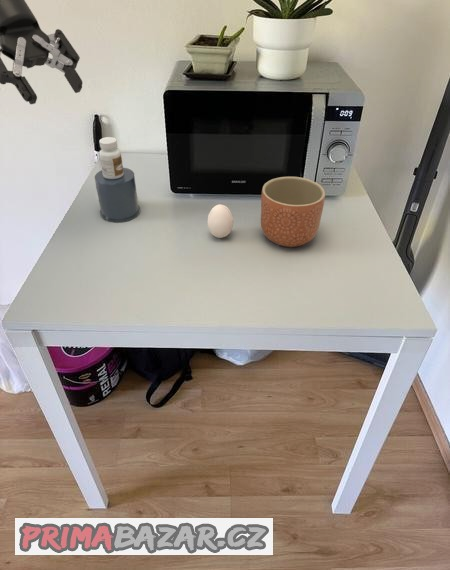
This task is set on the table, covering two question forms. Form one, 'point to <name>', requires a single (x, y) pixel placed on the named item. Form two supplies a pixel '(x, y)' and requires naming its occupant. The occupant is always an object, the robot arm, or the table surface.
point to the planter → (291, 210)
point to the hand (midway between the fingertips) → (57, 95)
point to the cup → (117, 197)
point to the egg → (220, 221)
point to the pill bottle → (110, 158)
